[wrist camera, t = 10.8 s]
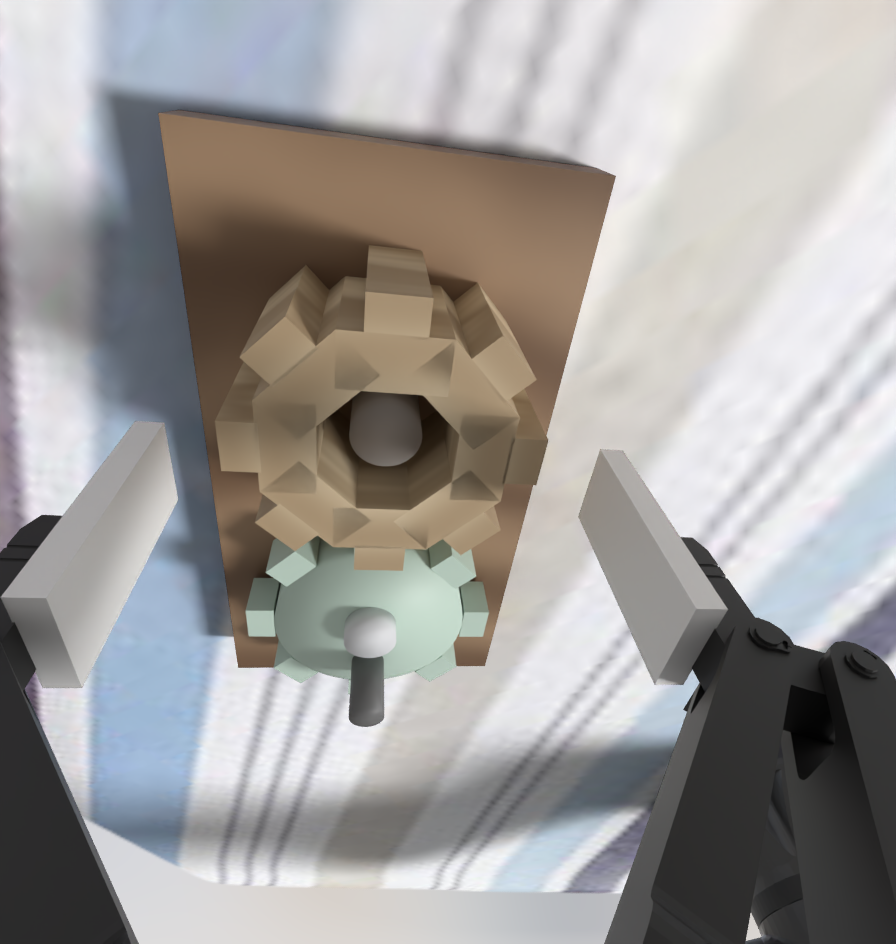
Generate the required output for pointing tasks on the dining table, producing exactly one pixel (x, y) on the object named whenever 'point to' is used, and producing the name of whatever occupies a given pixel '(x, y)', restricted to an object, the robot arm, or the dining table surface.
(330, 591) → the gear
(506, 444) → the beech gear
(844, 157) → the dining table surface
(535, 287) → the gear board
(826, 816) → the robot arm
